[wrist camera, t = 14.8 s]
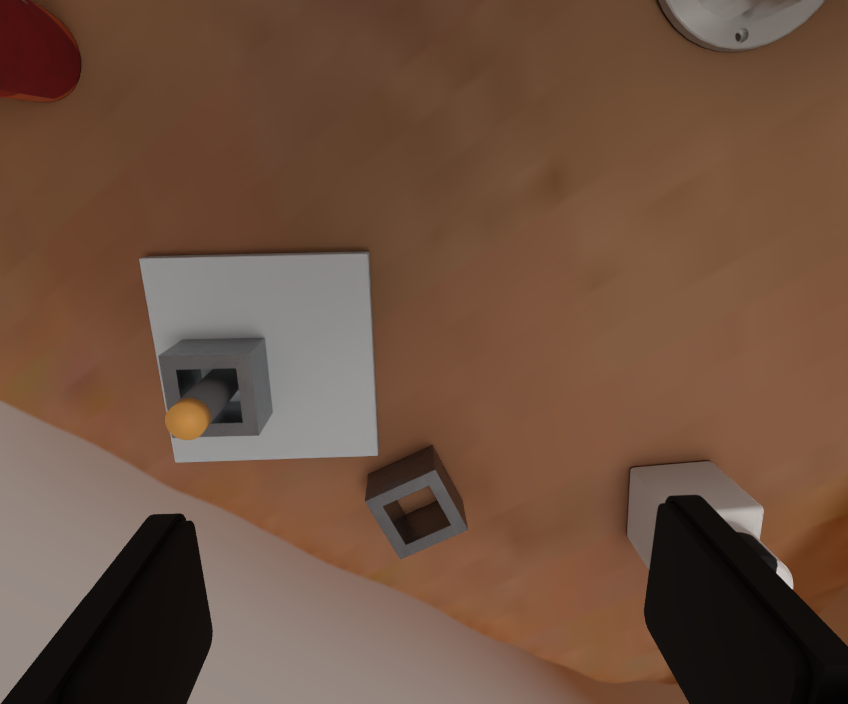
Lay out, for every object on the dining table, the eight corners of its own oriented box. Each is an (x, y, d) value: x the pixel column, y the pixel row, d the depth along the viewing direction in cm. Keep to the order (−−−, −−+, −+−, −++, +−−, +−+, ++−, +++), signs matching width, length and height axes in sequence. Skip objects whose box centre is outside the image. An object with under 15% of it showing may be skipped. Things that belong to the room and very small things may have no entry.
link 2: (368, 474, 44) (365, 501, 40) (432, 445, 43) (435, 469, 39) (400, 528, 46) (400, 559, 42) (462, 501, 45) (468, 529, 41)
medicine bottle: (625, 536, 47) (697, 649, 35) (628, 466, 45) (706, 561, 33) (704, 529, 47) (801, 639, 35) (711, 459, 45) (817, 551, 33)
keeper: (148, 256, 38) (68, 276, 29) (369, 251, 38) (358, 269, 29) (183, 453, 43) (123, 524, 34) (378, 446, 43) (372, 514, 34)
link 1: (182, 339, 38) (158, 355, 35) (264, 337, 39) (249, 353, 35) (194, 414, 40) (172, 437, 36) (272, 412, 40) (259, 435, 36)
